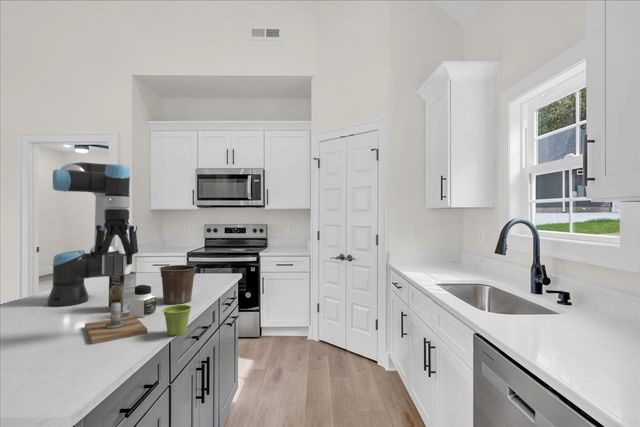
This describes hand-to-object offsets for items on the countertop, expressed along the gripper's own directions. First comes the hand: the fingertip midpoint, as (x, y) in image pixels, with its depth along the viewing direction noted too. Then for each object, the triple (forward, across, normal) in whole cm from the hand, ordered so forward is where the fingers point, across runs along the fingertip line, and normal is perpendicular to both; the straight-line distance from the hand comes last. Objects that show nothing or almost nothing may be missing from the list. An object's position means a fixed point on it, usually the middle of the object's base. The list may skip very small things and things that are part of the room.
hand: (116, 273), depth 120 cm
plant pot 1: (+20, +3, +41) cm, 46 cm away
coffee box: (+20, -15, +26) cm, 36 cm away
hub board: (+20, 0, 0) cm, 20 cm away
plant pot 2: (+20, +23, -1) cm, 30 cm away
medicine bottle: (+20, -2, +19) cm, 28 cm away
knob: (0, 0, 0) cm, 0 cm away
